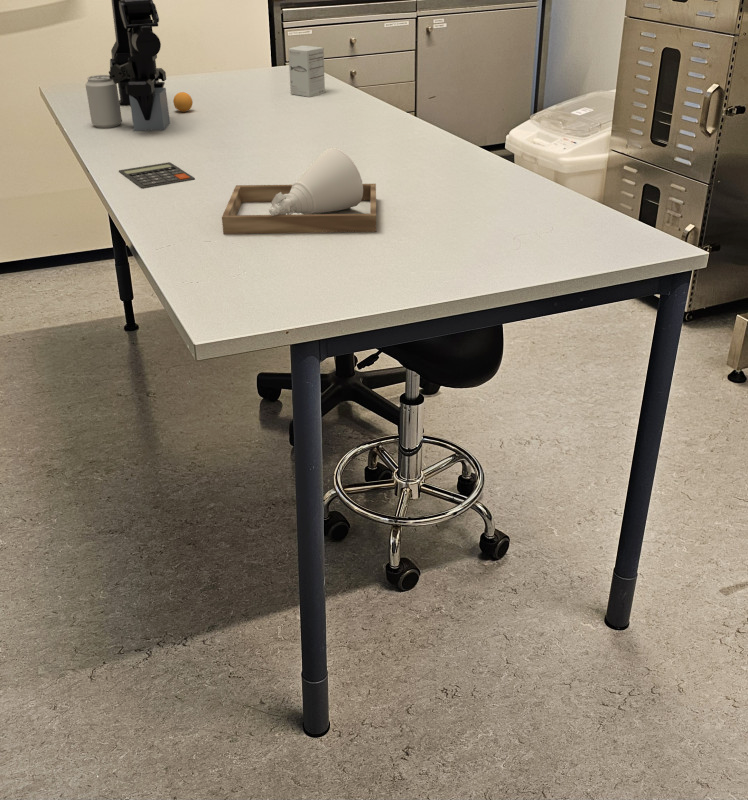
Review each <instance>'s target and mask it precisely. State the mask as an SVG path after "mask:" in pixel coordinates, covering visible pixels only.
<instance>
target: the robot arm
mask: <svg viewBox="0 0 748 800" xmlns="http://www.w3.org/2000/svg"><path fill="white" fill-rule="evenodd" d="M110 1H111V8H112V16H113V17H112V19H113V24H114V26H113V27H114V35H115V42H114V44H113V46H112V47H111V58H109V71H108V75H110V76H109V78H110V79H112V80H113V82H114V84H117V89H118V96H119V104H120V106H122V105H123V106H124V105H129V106H131V105H130V98H129V95H130V96H132V97H133V98H135V99H136V100H137V102H138V104H139V106H140V109H141V111H142V113H143V116H144V118H145V120H150V117H151V112H152V107H153V102H154V97H155V92H154V88H165V87H164V86H165V84H166V83H165V81H166V80H167V73H166V71H165V70H164V69H163V67H157V63H156V61H157V58H158V54H159V52H160V50H161V45H162V44H161V40H160V38H159V36H158V35H157V34H156V33H155V32H154V31H153V27H155V28H156V27H159V23H160V18H159V13H158V10H157V7H156V4H155V3H154V0H110ZM160 80H161V81H160Z"/></svg>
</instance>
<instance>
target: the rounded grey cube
mask: <svg viewBox="0 0 748 800" xmlns="http://www.w3.org/2000/svg"><path fill="white" fill-rule="evenodd" d="M154 92H155V97H154V102H153V107H152V112H151V117H150V120H145V118H144V116H143V113H142V111H141V109H140V106H139V104H138V102H137V100H136V99H135V98H133V97H132V96H130V95H129V98H130V105H129V106H130V112H131V119H132V124H133V131H134V132H138V131H139V132H143V131H148V132H149V131H165V130H166V129H167V127H168V126H169V125H170V124H171V120H170V112H169V104H168V97H167V88H166V87H163V88H154Z"/></svg>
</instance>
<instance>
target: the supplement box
mask: <svg viewBox="0 0 748 800" xmlns="http://www.w3.org/2000/svg"><path fill="white" fill-rule="evenodd" d="M324 49H325V48H324V47H319V46H312V45H305V44H303V45H298V46H293V47H290V48H288V64H289V65H288V67H289V68H288V69H289V86H290V88H289V89H290V94H291V95H297V96H300V97H301V96H303V97H307V98H312V97H316V96H318V95H319V96H320V95H323V94H325V93H326V91H325V90H326V87H325V86H326V85H325V60H324V59H325V56H324V54H325V53H324Z"/></svg>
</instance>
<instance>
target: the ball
mask: <svg viewBox="0 0 748 800" xmlns="http://www.w3.org/2000/svg"><path fill="white" fill-rule="evenodd" d="M172 103H173V105H174V108H175V109H176V110H177V111H179V112H181V113H182V112H183V113H184V112H188V111H189V110H190V109H192V107H193V99H192V97H191V95H190V94H188V93H187V92H184V91H180V92H177V93H176V95H174V96H173V102H172Z"/></svg>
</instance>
